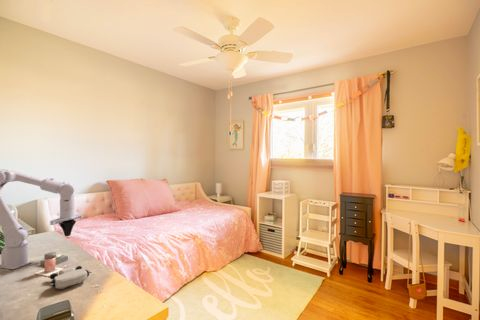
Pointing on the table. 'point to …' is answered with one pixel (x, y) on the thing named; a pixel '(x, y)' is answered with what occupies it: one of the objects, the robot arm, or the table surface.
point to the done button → (58, 255)
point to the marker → (50, 262)
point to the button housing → (57, 260)
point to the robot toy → (68, 277)
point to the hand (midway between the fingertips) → (67, 235)
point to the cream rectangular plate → (48, 272)
